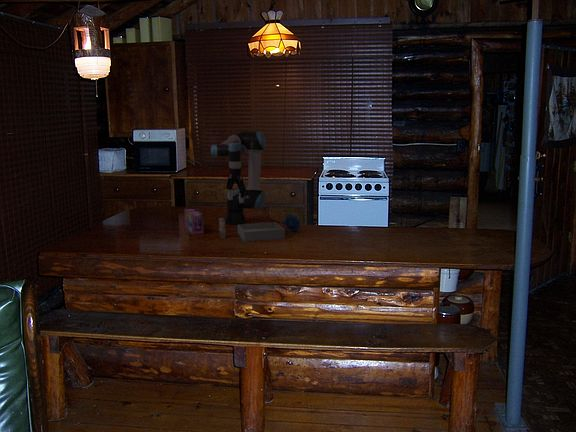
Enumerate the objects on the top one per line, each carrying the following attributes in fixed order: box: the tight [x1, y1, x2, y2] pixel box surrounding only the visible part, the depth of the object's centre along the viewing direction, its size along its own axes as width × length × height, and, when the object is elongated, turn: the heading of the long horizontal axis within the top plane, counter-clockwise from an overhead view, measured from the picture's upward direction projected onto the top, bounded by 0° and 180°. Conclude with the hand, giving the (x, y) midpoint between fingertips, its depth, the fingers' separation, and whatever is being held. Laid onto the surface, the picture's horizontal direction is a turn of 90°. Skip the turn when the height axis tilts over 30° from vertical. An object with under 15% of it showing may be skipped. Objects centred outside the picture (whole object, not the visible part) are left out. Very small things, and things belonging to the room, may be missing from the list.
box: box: [237, 221, 286, 242], centre depth 370 cm, size 22×26×6 cm
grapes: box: [283, 213, 302, 233], centre depth 379 cm, size 12×7×12 cm, turn 82°
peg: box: [218, 217, 227, 239], centre depth 367 cm, size 4×4×12 cm
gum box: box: [183, 207, 205, 235], centre depth 385 cm, size 24×8×14 cm, turn 23°
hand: (236, 201), depth 364 cm, fingers open, 13 cm apart
